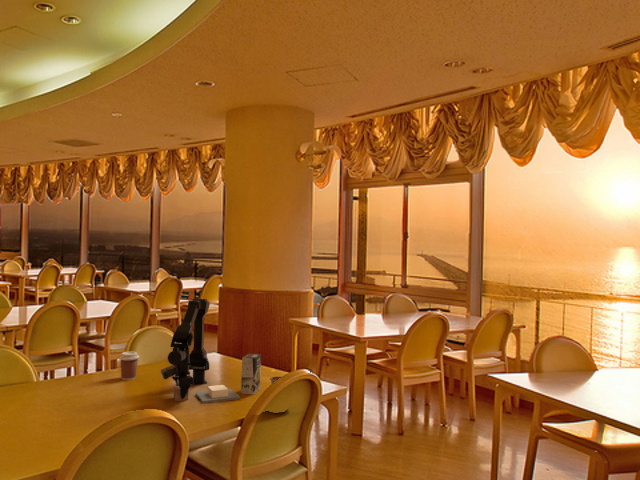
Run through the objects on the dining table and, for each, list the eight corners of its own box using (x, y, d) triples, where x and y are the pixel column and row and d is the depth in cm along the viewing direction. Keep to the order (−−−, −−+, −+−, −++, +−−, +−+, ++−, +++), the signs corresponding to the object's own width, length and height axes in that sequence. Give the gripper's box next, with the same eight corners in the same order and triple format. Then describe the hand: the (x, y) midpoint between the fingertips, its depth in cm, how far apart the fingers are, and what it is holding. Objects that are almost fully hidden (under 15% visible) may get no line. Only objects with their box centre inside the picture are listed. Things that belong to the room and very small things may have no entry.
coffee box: (254, 395, 227) (255, 358, 227) (240, 393, 228) (241, 357, 228) (260, 389, 236) (261, 354, 236) (247, 388, 237) (248, 352, 237)
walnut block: (173, 398, 219) (174, 386, 219) (185, 396, 221) (185, 385, 221) (176, 401, 214) (176, 389, 215) (188, 400, 217) (188, 388, 217)
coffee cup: (142, 377, 247) (143, 352, 247) (126, 381, 240) (127, 356, 240) (130, 374, 252) (131, 350, 252) (114, 378, 245) (115, 353, 245)
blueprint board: (195, 395, 224) (196, 385, 224) (231, 391, 231) (231, 382, 231) (202, 403, 213) (203, 393, 213) (239, 399, 220) (240, 389, 220)
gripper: (158, 355, 222) (157, 392, 222) (167, 366, 206) (165, 405, 206) (184, 354, 228) (183, 389, 228) (195, 363, 211) (193, 402, 211)
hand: (180, 396), depth 218 cm, fingers open, 6 cm apart
